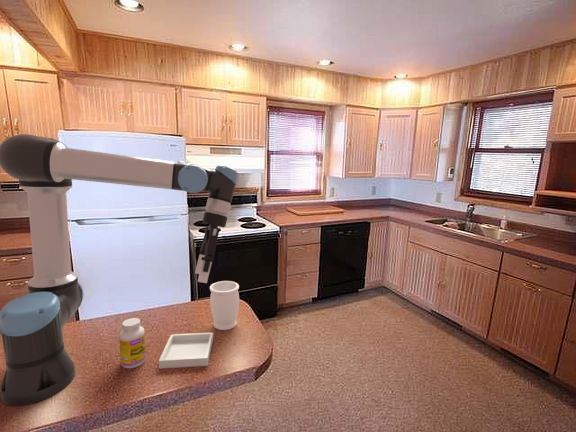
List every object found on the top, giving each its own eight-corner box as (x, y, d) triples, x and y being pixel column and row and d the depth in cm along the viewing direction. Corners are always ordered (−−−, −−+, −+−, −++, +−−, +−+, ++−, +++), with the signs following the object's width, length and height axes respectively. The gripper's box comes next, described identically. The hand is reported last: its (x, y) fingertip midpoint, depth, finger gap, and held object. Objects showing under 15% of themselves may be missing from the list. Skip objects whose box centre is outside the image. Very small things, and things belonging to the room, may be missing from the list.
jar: (205, 323, 111) (204, 285, 109) (229, 314, 118) (229, 278, 116) (220, 335, 103) (219, 294, 101) (245, 325, 110) (244, 286, 108)
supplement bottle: (130, 372, 85) (126, 330, 82) (116, 364, 88) (112, 323, 86) (151, 359, 90) (148, 319, 88) (137, 352, 94) (134, 314, 91)
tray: (159, 368, 86) (158, 360, 86) (171, 341, 100) (171, 334, 99) (207, 365, 88) (207, 357, 88) (213, 339, 101) (213, 332, 101)
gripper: (234, 216, 88) (216, 288, 86) (222, 216, 111) (208, 272, 109) (208, 210, 85) (190, 284, 84) (201, 211, 109) (187, 268, 107)
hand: (200, 277), depth 97 cm, fingers open, 13 cm apart
